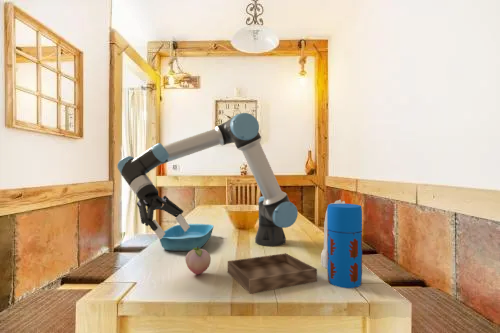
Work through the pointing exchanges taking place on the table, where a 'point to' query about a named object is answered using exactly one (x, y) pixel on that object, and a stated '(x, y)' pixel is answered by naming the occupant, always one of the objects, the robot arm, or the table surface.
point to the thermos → (344, 245)
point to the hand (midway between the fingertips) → (175, 232)
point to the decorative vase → (324, 252)
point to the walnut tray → (271, 272)
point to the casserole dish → (186, 237)
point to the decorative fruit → (198, 260)
